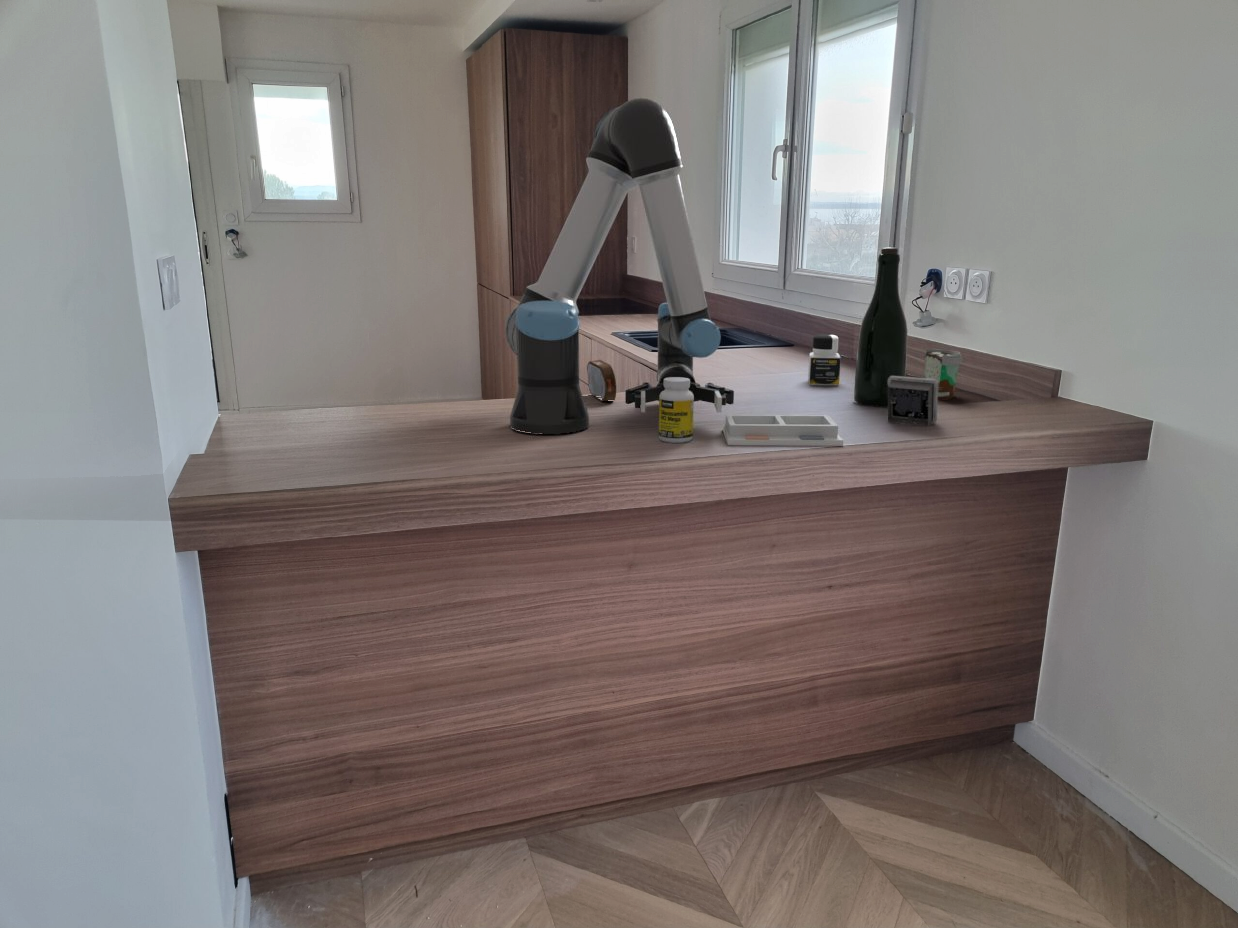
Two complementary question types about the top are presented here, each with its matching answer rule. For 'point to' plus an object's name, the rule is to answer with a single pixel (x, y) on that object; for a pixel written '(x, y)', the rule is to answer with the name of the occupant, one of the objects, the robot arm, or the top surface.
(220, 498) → the top surface
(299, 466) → the top surface
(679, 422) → the pill bottle
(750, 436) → the socket board
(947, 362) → the food container
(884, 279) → the dark green wine bottle
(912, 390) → the electrical switch
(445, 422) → the top surface
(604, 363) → the tin
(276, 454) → the top surface
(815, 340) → the medicine bottle
